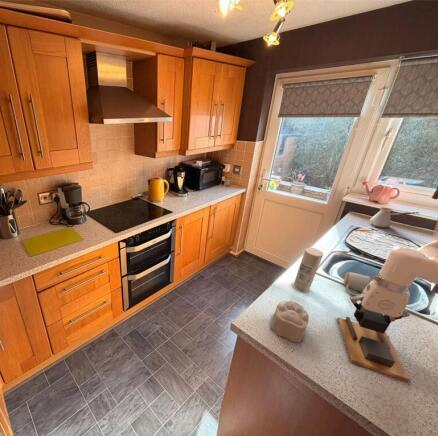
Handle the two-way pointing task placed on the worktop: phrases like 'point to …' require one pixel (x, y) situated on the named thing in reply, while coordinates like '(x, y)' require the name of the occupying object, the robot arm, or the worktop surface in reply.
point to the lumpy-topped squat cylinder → (290, 320)
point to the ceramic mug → (355, 282)
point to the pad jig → (371, 349)
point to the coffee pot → (384, 217)
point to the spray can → (307, 269)
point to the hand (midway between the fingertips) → (369, 321)
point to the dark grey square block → (373, 321)
